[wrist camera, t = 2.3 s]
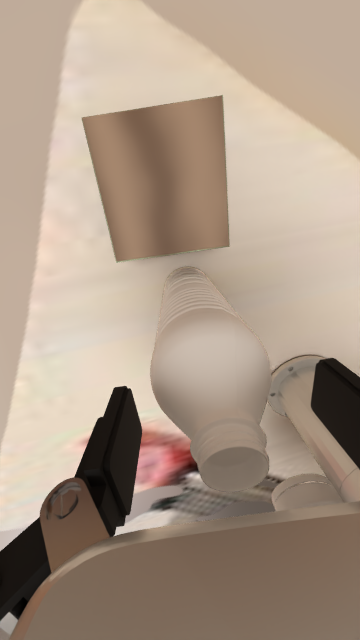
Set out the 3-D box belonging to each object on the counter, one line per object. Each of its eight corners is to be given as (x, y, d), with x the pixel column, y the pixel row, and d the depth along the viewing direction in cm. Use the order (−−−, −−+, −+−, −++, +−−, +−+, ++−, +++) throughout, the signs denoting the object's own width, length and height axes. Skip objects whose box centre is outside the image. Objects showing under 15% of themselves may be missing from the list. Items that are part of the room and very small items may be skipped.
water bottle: (155, 292, 30) (90, 487, 7) (184, 255, 28) (240, 347, 5) (200, 328, 32) (270, 567, 9) (230, 296, 30) (415, 490, 7)
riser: (207, 138, 24) (223, 93, 16) (214, 243, 28) (230, 246, 20) (109, 153, 24) (80, 116, 16) (131, 255, 28) (115, 262, 20)
